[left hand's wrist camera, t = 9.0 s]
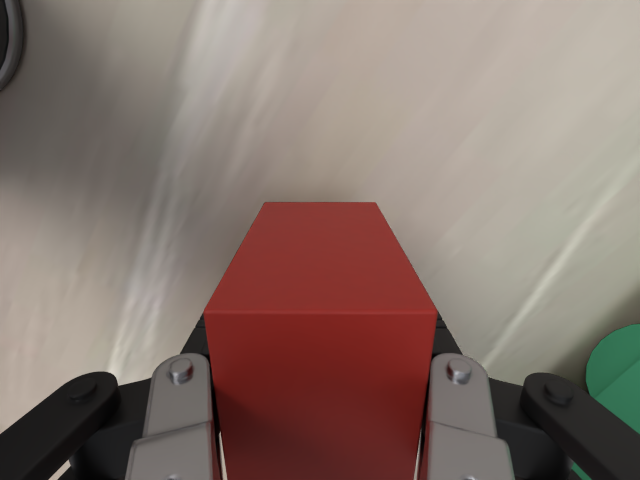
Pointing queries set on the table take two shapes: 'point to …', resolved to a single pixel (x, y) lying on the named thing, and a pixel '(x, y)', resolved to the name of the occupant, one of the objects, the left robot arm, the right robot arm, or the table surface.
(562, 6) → the table surface
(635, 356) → the toy tank
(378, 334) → the brick
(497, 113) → the table surface
